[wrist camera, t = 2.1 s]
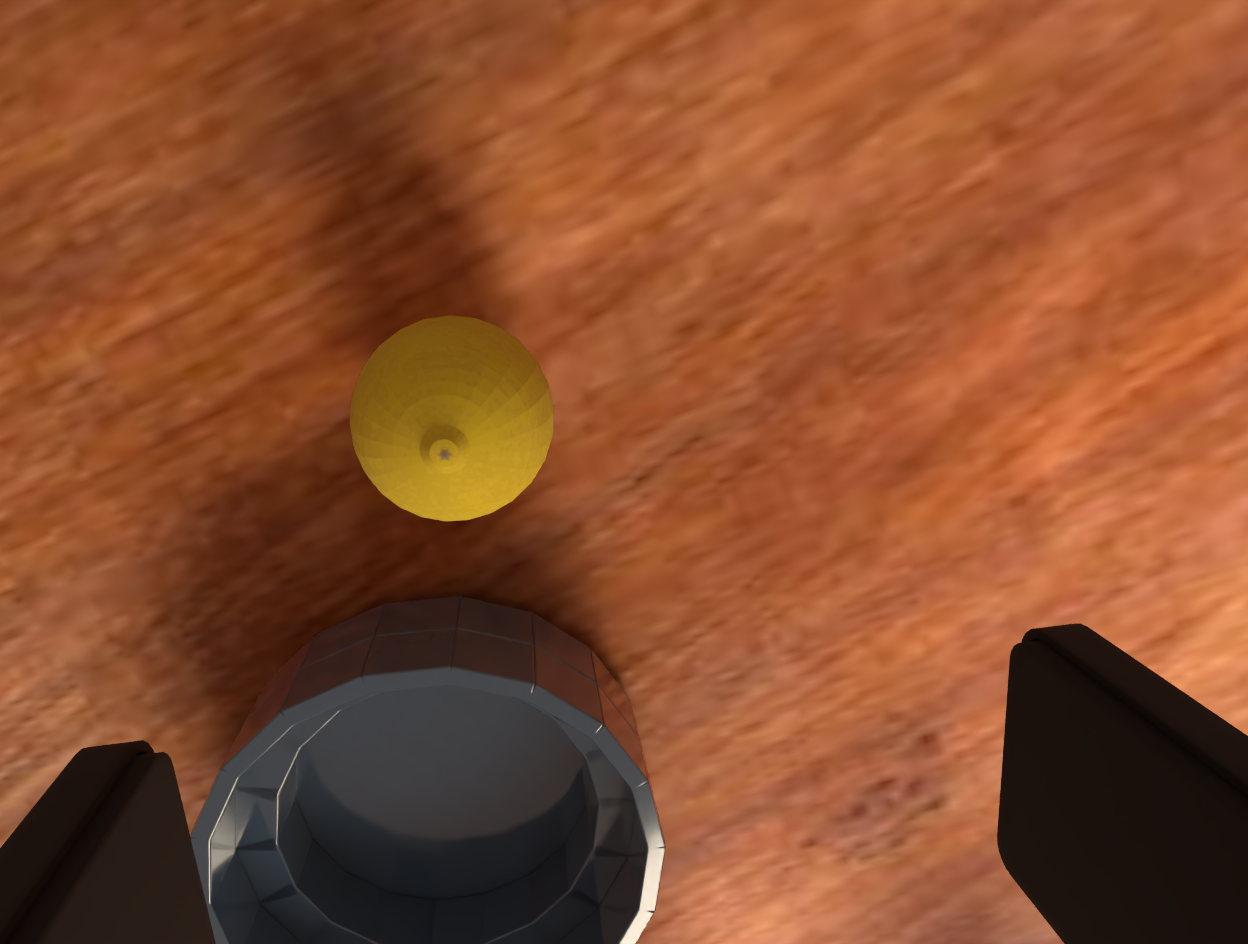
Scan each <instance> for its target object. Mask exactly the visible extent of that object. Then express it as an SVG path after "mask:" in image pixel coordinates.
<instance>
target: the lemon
mask: <svg viewBox="0 0 1248 944" xmlns="http://www.w3.org/2000/svg"><path fill="white" fill-rule="evenodd" d="M553 416H554V406H553V402H552V398H551V393H550V389H549V385H548V381H547V380H546V378H545V376H544V374H543V372H542V370H541V368H540V366H539V364H538V362H537V360H536V359H535V358H534V357H533V355H532V354H531V353H530V352H529V351H528V350H527V349H526V348H525V346H524V345H523V344H522V343H521V342H520V341H519V340H518V339H516V338H515V337H513V336H512V335H510V334H509V333H507V332H506V331H504V330H503V329H501V328H500V327H498V326H496V325H493V324H490V323H487V322H485V321H482V320H479V319H476V318H471V317H461V316H452V315H448V316H442V317H435V318H428V319H423V320H421V321H418V322H416V323H414V324H411V325H409V326H407V327H404V328H402V329H400V330H399V331H397V332H396V333H395V334H394V335H392V336H391V337H390V338H388V339H387V340H386V341H385V342H383V343H382V344H381V345H379V346H378V348H377V349H376V350H375V352H374V353H373V354H372V356H371V357H370V358H369V360H368V361H367V362H366V364H365V365H364V366H363V368H362V370H361V373H360V375H359V378H358V380H357V383H356V386H355V388H354V391H353V394H352V402H351V412H350V428H351V434H352V440H353V446H354V450H355V452H356V454H357V457H358V459H359V461H360V463H361V465H362V468H363V470H364V472H365V474H366V475H367V476H368V477H369V479H370V480H371V481H372V482H373V484H374V485H375V486H376V487H377V489H378V490H379V491H380V492H381V493H382V494H383V495H384V496H386V497H387V498H388V499H389V500H391V501H392V502H393V503H395V504H396V505H397V506H399V507H400V508H402V509H405V510H407V511H409V512H411V513H414V514H416V515H418V516H420V517H425V518H430V519H435V520H441V521H460V520H470V519H473V518H477V517H480V516H483V515H487V514H490V513H492V512H494V511H496V510H498V509H499V508H501V507H503V506H504V505H506V504H508V503H510V502H511V501H513V500H514V499H515V498H516V497H517V496H518V495H519V494H520V493H521V492H522V491H523V490H524V489H525V488H526V487H527V486H528V485H529V484H530V483H531V482H532V481H533V479H534V478H535V476H536V474H537V473H538V471H539V469H540V468H541V466H542V464H543V463H544V461H545V459H546V456H547V452H548V449H549V446H550V442H551V439H552V436H553Z"/></svg>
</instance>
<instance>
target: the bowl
mask: <svg viewBox="0 0 1248 944" xmlns="http://www.w3.org/2000/svg"><path fill="white" fill-rule="evenodd" d="M190 838H191V842H192V846H193V850H194V855H195V859H196V863H197V867H198V871H199V876H200V880H201V884H202V888H203V892H204V896H205V901H206V905H207V909H208V913H209V917H210V921H211V926H212V930H213V934H214V938H215V942H216V944H636V942H637V941H638V939H639V937H640V936H641V934H642V932H643V931H644V929H645V927H646V926H647V924H648V922H649V921H650V919H651V917H652V916H653V914H654V911H655V910H656V904H657V898H658V891H659V885H660V879H661V873H662V866H663V860H664V854H665V848H666V847H665V840H664V836H663V832H662V828H661V824H660V820H659V815H658V811H657V807H656V803H655V799H654V795H653V791H652V787H651V782H650V778H649V774H648V770H647V766H646V762H645V758H644V754H643V750H642V746H641V742H640V738H639V734H638V730H637V727H636V723H635V719H634V715H633V711H632V707H631V703H630V700H629V698H628V696H627V695H626V694H625V692H624V691H623V690H622V688H621V687H620V686H619V684H618V683H617V682H616V680H615V679H614V678H613V677H612V675H611V674H610V673H609V671H608V670H607V669H606V667H605V666H604V665H603V663H602V662H601V661H600V659H599V658H598V657H597V655H596V654H595V653H594V652H593V650H592V649H590V648H589V647H588V646H586V645H585V644H583V643H581V642H580V641H578V640H577V639H575V638H573V637H572V636H570V635H568V634H567V633H565V632H564V631H562V630H560V629H559V628H557V627H556V626H554V625H552V624H551V623H549V622H548V621H546V620H544V619H543V618H541V617H539V616H538V615H536V614H535V613H531V612H530V611H525V610H521V609H517V608H512V607H508V606H503V605H499V604H494V603H490V602H485V601H481V600H476V599H472V598H468V597H461V598H460V596H455V597H445V598H434V599H424V600H414V601H403V602H393V603H387V604H382V605H380V606H378V607H375V608H373V609H371V610H369V611H366V612H364V613H362V614H360V615H357V616H355V617H353V618H351V619H348V620H346V621H344V622H342V623H339V624H337V625H335V626H333V627H330V628H328V629H326V630H324V631H321V632H319V633H318V634H316V635H315V636H314V637H313V638H312V639H310V640H309V641H308V642H307V643H306V644H305V645H304V646H303V647H302V648H301V649H300V650H299V651H298V652H297V653H296V654H295V655H294V656H293V657H292V658H291V659H290V660H289V661H287V662H286V663H285V664H284V665H283V666H282V667H281V668H280V669H279V670H278V671H277V672H276V673H275V674H274V675H273V676H272V677H271V678H270V679H269V680H268V681H267V682H266V683H265V685H264V687H263V689H262V691H261V692H260V694H259V696H258V698H257V700H256V702H255V704H254V706H253V708H252V709H251V711H250V713H249V715H248V717H247V719H246V721H245V723H244V724H243V726H242V728H241V730H240V732H239V734H238V736H237V738H236V739H235V741H234V743H233V745H232V747H231V749H230V751H229V753H228V755H227V756H226V758H225V760H224V762H223V764H222V766H221V768H220V770H219V772H218V774H217V776H216V779H215V781H214V783H213V785H212V787H211V790H210V792H209V794H208V796H207V799H206V801H205V803H204V805H203V808H202V810H201V812H200V814H199V816H198V819H197V821H196V823H195V825H194V828H193V830H192V832H191V837H190Z"/></svg>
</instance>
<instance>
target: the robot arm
mask: <svg viewBox="0 0 1248 944" xmlns="http://www.w3.org/2000/svg"><path fill="white" fill-rule="evenodd" d="M997 841H998V848H999V852H1000V855H1001V858H1002V861H1003V863H1004V865H1005V867H1006V869H1007V870H1008V872H1009V874H1010V875H1011V876H1012V877H1013V879H1014V880H1015V881H1016V883H1017V884H1018V885H1019V886H1020V888H1021V889H1022V890H1023V891H1024V893H1025V894H1026V895H1027V896H1028V898H1029V899H1030V900H1031V902H1032V903H1033V904H1034V905H1035V907H1036V908H1037V909H1038V910H1039V912H1040V913H1041V914H1042V916H1043V917H1044V918H1045V919H1046V921H1047V922H1048V923H1049V924H1050V926H1051V927H1052V928H1053V930H1054V931H1055V932H1056V933H1057V935H1058V936H1059V937H1060V938H1061V940H1062V941H1063V942H1064V943H1065V944H1248V736H1247V735H1245V734H1244V733H1242V732H1241V731H1240V730H1238V729H1237V728H1235V727H1234V726H1232V725H1231V724H1229V723H1228V722H1226V721H1225V720H1223V719H1222V718H1220V717H1219V716H1218V715H1216V714H1215V713H1213V712H1212V711H1210V710H1209V709H1207V708H1206V707H1204V706H1203V705H1201V704H1200V703H1198V702H1197V701H1196V700H1194V699H1193V698H1191V697H1190V696H1188V695H1187V694H1185V693H1184V692H1182V691H1181V690H1179V689H1178V688H1176V687H1175V686H1174V685H1172V684H1171V683H1169V682H1168V681H1166V680H1165V679H1163V678H1162V677H1160V676H1159V675H1157V674H1156V673H1154V672H1153V671H1152V670H1150V669H1149V668H1147V667H1146V666H1144V665H1143V664H1141V663H1140V662H1138V661H1137V660H1135V659H1134V658H1132V657H1131V656H1130V655H1128V654H1127V653H1125V652H1124V651H1122V650H1121V649H1119V648H1118V647H1116V646H1115V645H1113V644H1112V643H1110V642H1109V641H1108V640H1106V639H1105V638H1103V637H1102V636H1100V635H1099V634H1097V633H1096V632H1094V631H1093V630H1091V629H1090V628H1088V627H1087V626H1084V625H1082V624H1068V625H1060V626H1052V627H1044V628H1036V629H1031V630H1029V631H1028V632H1026V634H1025V635H1024V637H1023V639H1022V643H1018V644H1016V645H1015V646H1014V647H1013V649H1012V651H1011V655H1010V665H1009V679H1008V693H1007V707H1006V721H1005V735H1004V749H1003V763H1002V777H1001V791H1000V805H999V819H998V833H997ZM0 944H216V942H215V938H214V934H213V930H212V926H211V921H210V917H209V913H208V909H207V905H206V901H205V896H204V892H203V888H202V884H201V880H200V876H199V871H198V867H197V863H196V859H195V855H194V850H193V846H192V842H191V838H190V834H189V830H188V825H187V821H186V817H185V813H184V809H183V805H182V800H181V796H180V792H179V788H178V784H177V780H176V775H175V771H174V767H173V764H172V761H171V758H170V757H169V756H168V754H166V753H164V752H160V753H154V751H153V749H152V748H151V746H150V745H149V743H147V742H145V741H143V740H142V741H134V742H126V743H118V744H110V745H102V746H94V747H88V748H83V749H81V750H80V751H79V752H78V753H77V754H76V755H75V756H74V757H73V758H72V760H71V761H70V762H69V763H68V765H67V766H66V767H65V768H64V770H63V771H62V772H61V773H60V775H59V776H58V777H57V778H56V780H55V781H54V782H53V783H52V785H51V786H50V787H49V788H48V790H47V791H46V792H45V793H44V795H43V796H42V797H41V798H40V799H39V801H38V802H37V803H36V804H35V806H34V807H33V808H32V809H31V811H30V812H29V813H28V814H27V816H26V817H25V818H24V819H23V821H22V822H21V823H20V824H19V826H18V827H17V828H16V829H15V831H14V832H13V833H12V834H11V836H10V837H9V838H8V839H7V841H6V842H5V843H4V844H3V846H2V847H1V848H0Z"/></svg>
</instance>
